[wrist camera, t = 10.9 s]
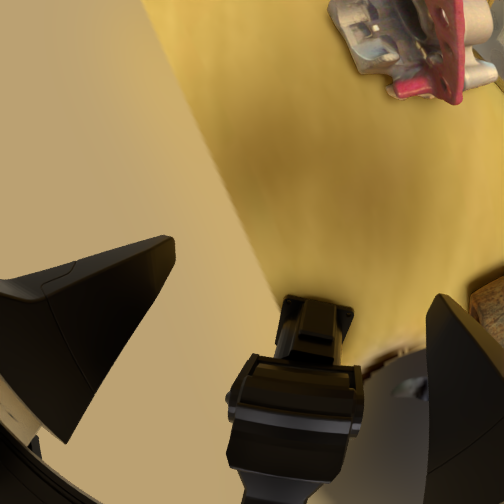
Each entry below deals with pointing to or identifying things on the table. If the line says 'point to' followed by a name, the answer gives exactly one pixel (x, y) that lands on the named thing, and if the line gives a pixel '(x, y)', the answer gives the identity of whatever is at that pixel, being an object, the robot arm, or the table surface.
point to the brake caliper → (418, 44)
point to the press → (494, 42)
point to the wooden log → (490, 308)
